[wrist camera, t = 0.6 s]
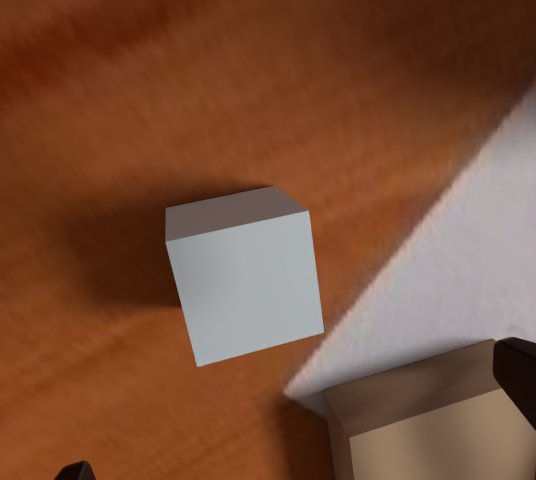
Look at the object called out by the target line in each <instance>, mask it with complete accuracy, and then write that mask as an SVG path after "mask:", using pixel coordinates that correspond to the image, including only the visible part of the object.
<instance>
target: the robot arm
mask: <svg viewBox="0 0 536 480" xmlns="http://www.w3.org/2000/svg"><path fill="white" fill-rule="evenodd" d="M492 372H493V375H494V378H495V380H496V381H497V383H498V384H499V385H500V387H501V388H502V389H503V390H504V392H505V393H506V394H507V395H508V397H509V398H510V399H511V400H512V402H513V403H514V404H515V406H516V407H517V408H518V409H519V411H520V412H521V413H522V414H523V416H524V417H525V418H526V419H527V421H528V422H529V423H530V425H531V426H532V427H533V428H534V430H535V431H536V343H534V342H531V341H527V340H523V339H520V338H516V337H508V338H504V339H501V340H498V341H496V342H495V343H494V345H493V363H492ZM54 480H96V478H95V476H94V473H93V471H92V468H91V466H90V464H89V463H88V461H80V462H77V463H73V464H70V465H67V466H65V467H64V468H63V469H62V470H61V471H60V472H59V474H58V475H57V476H56V477H55V479H54Z"/></svg>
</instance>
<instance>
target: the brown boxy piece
mask: <svg viewBox="0 0 536 480" xmlns="http://www.w3.org/2000/svg"><path fill="white" fill-rule="evenodd" d="M495 342H496V341H495V340H494V339H491V340H487V341H484V342H481V343H477V344H474V345H471V346H467V347H464V348H461V349H457V350H454V351H451V352H447V353H444V354H441V355H437V356H434V357H431V358H427V359H424V360H421V361H417V362H414V363H411V364H407V365H404V366H401V367H397V368H394V369H391V370H387V371H384V372H381V373H377V374H374V375H371V376H367V377H364V378H361V379H357V380H354V381H351V382H347V383H344V384H341V385H337V386H334V387H331V388H327V389H324V390H323V394H324V401H325V408H326V416H327V423H328V430H329V437H330V445H331V452H332V459H333V466H334V473H335V480H535V469H536V431H535V430H534V428H533V427H532V426H531V425H530V423H529V422H528V421H527V419H526V418H525V417H524V416H523V414H522V413H521V412H520V411H519V409H518V408H517V407H516V406H515V404H514V403H513V402H512V400H511V399H510V398H509V397H508V395H507V394H506V393H505V392H504V390H503V389H502V388H501V387H500V385H499V384H498V383H497V381H496V380H495V378H494V375H493V372H492V363H493V345H494V343H495Z"/></svg>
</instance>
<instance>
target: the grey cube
mask: <svg viewBox="0 0 536 480" xmlns="http://www.w3.org/2000/svg"><path fill="white" fill-rule="evenodd" d="M165 243H166V246H167V250H168V254H169V258H170V262H171V266H172V270H173V274H174V278H175V282H176V285H177V289H178V293H179V297H180V301H181V305H182V309H183V313H184V317H185V321H186V324H187V328H188V332H189V336H190V340H191V344H192V348H193V352H194V356H195V360H196V363H197V367H199V366H203V365H206V364H210V363H214V362H217V361H221V360H225V359H228V358H232V357H236V356H239V355H243V354H247V353H250V352H254V351H258V350H261V349H265V348H269V347H272V346H276V345H280V344H283V343H287V342H291V341H294V340H298V339H302V338H306V337H309V336H313V335H317V334H320V333H324V328H323V320H322V312H321V304H320V296H319V288H318V280H317V272H316V264H315V256H314V249H313V241H312V233H311V225H310V217H309V210H307V209H306V208H305V207H303V206H302V205H300V204H299V203H298V202H296V201H295V200H294V199H292V198H291V197H290V196H288V195H287V194H285V193H284V192H283V191H281V190H280V189H279V188H277V187H276V186H271V187H266V188H261V189H256V190H251V191H246V192H241V193H236V194H232V195H227V196H222V197H217V198H212V199H207V200H202V201H197V202H193V203H188V204H183V205H178V206H173V207H168V208H166V232H165Z"/></svg>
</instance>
